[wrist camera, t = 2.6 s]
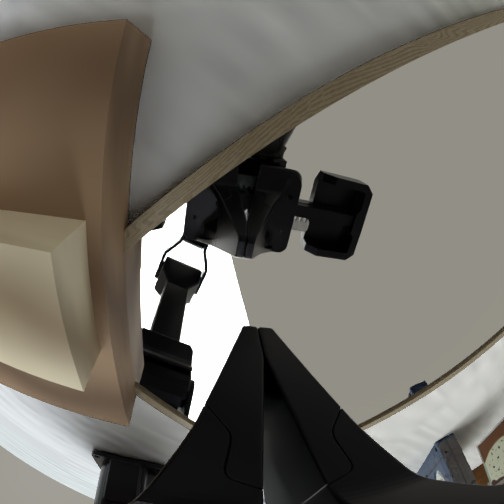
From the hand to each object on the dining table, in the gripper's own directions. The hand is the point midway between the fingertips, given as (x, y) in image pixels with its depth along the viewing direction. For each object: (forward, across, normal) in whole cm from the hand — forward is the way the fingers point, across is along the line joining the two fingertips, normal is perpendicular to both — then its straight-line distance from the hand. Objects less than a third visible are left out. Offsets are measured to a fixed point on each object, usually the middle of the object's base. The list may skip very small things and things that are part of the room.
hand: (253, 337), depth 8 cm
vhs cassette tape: (+4, -29, +26) cm, 39 cm away
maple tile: (+1, +10, 0) cm, 10 cm away
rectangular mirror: (+4, -7, 0) cm, 8 cm away
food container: (+4, -45, +23) cm, 51 cm away
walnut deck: (+3, +10, 0) cm, 10 cm away
